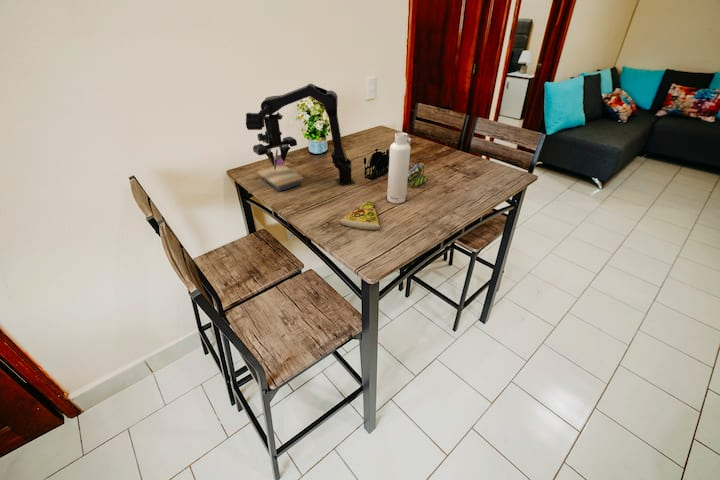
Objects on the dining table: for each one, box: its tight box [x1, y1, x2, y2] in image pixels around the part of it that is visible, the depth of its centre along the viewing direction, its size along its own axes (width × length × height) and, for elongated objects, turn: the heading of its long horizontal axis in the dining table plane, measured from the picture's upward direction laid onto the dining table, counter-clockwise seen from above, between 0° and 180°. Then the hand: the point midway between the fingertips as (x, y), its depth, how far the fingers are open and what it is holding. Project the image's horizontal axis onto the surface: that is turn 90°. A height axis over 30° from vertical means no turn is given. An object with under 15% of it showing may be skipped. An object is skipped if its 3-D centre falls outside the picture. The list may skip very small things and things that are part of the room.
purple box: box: [274, 148, 285, 170], centre depth 152 cm, size 7×5×9 cm
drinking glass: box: [407, 136, 412, 146], centre depth 180 cm, size 7×7×10 cm
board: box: [256, 164, 304, 188], centre depth 156 cm, size 20×13×1 cm, turn 40°
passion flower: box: [407, 162, 429, 188], centre depth 156 cm, size 11×11×12 cm
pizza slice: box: [340, 200, 381, 231], centre depth 133 cm, size 16×21×3 cm
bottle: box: [386, 131, 412, 204], centre depth 137 cm, size 8×8×28 cm
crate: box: [262, 177, 300, 192], centre depth 157 cm, size 16×10×3 cm, turn 40°
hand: (278, 163), depth 153 cm, fingers closed on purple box, 4 cm apart
